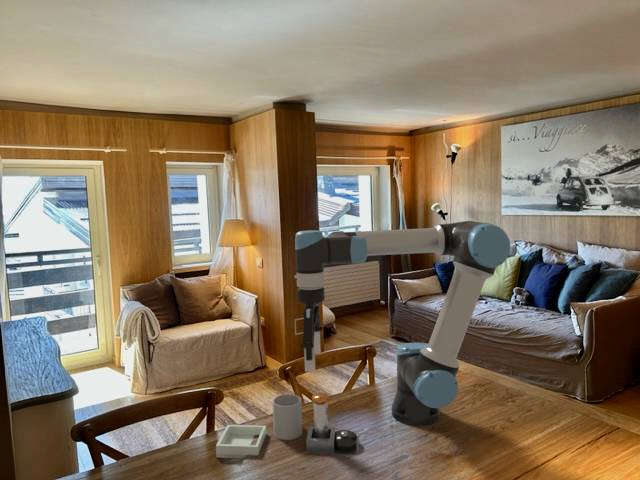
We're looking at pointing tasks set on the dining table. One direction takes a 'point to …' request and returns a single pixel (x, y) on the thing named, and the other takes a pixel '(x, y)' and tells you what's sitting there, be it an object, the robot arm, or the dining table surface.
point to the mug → (287, 417)
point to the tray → (240, 441)
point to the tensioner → (333, 442)
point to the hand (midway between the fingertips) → (313, 361)
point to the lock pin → (320, 415)
